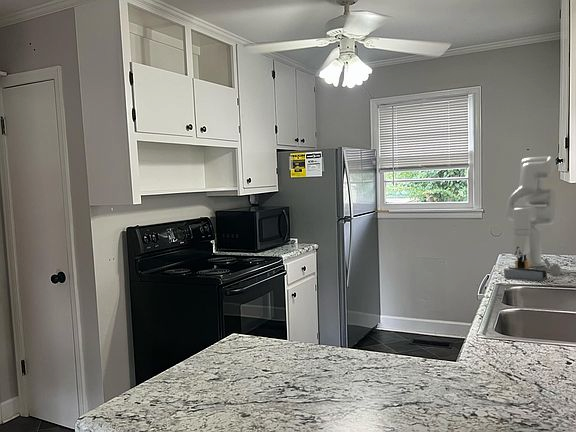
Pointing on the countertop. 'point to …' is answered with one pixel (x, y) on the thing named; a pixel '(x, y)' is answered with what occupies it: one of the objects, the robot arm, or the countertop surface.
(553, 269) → the grey irregular flat piece
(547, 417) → the countertop surface
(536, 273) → the grey flat block
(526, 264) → the clip
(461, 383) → the countertop surface
